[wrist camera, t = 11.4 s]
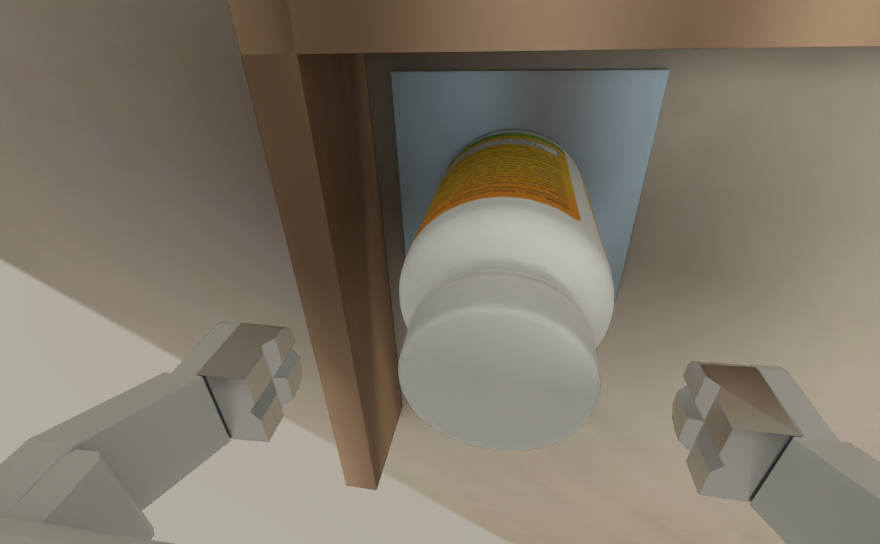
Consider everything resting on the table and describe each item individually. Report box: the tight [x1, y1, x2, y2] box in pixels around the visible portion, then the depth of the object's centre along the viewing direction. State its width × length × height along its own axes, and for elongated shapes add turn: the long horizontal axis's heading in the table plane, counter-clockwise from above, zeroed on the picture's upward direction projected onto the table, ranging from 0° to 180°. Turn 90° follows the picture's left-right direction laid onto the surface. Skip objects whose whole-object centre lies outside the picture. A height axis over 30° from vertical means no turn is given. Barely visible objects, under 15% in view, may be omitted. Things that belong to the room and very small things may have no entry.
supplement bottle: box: [398, 130, 614, 451], centre depth 12 cm, size 5×5×10 cm
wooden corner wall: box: [228, 0, 880, 490], centre depth 16 cm, size 20×20×5 cm
